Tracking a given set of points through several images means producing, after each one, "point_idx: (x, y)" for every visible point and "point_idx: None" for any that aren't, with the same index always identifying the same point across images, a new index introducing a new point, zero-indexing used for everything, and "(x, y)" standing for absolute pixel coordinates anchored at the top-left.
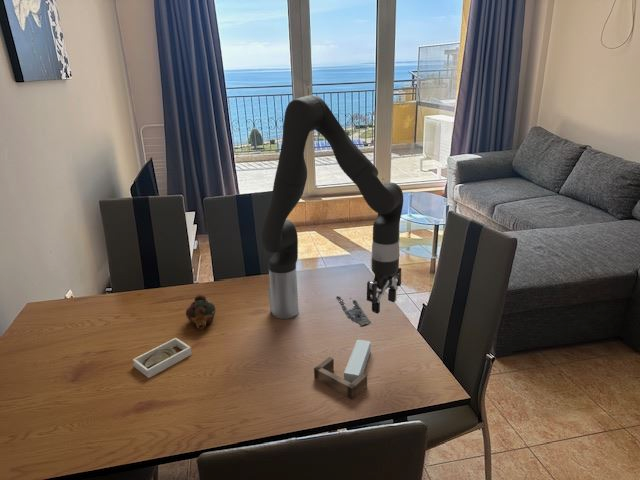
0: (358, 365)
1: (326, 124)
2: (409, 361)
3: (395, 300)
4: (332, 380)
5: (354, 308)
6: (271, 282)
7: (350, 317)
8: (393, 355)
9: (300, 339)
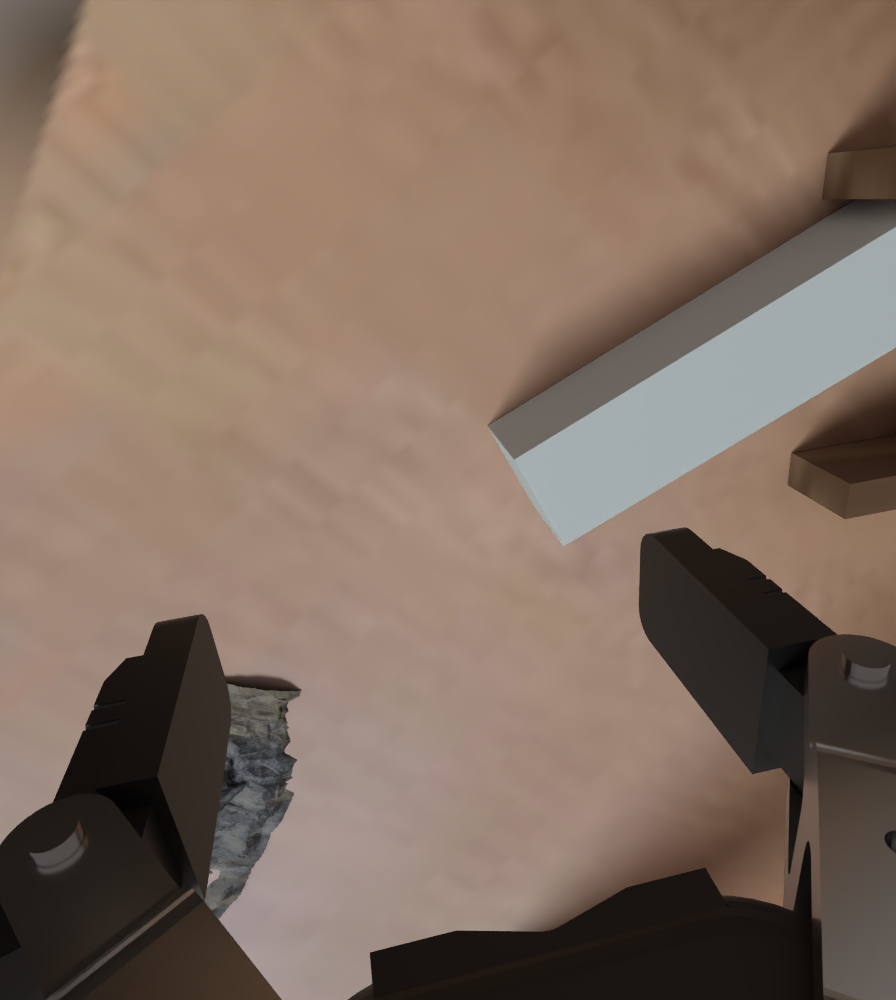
0: (840, 291)
1: None
2: (356, 90)
3: (158, 626)
4: None
5: None
6: None
7: (275, 800)
8: (393, 263)
9: (671, 774)
